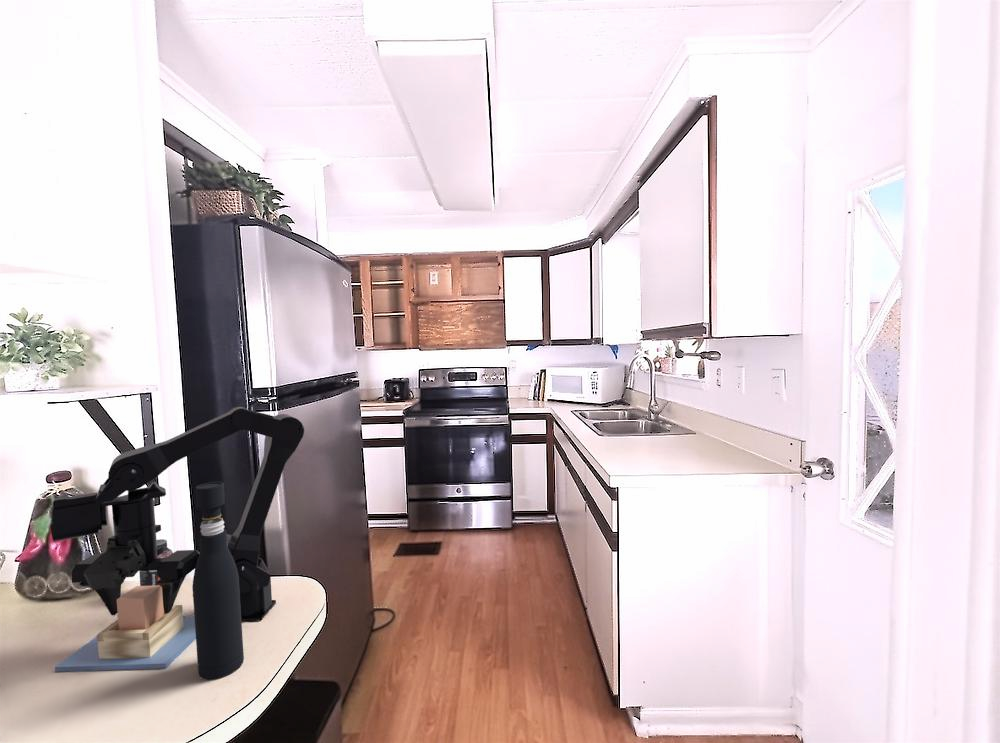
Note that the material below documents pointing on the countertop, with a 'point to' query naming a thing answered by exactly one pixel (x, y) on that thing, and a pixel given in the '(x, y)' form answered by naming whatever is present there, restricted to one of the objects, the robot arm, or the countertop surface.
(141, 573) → the supplement bottle
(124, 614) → the terracotta block
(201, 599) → the black insulated water bottle
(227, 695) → the countertop surface
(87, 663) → the mat
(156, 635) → the open wooden box
